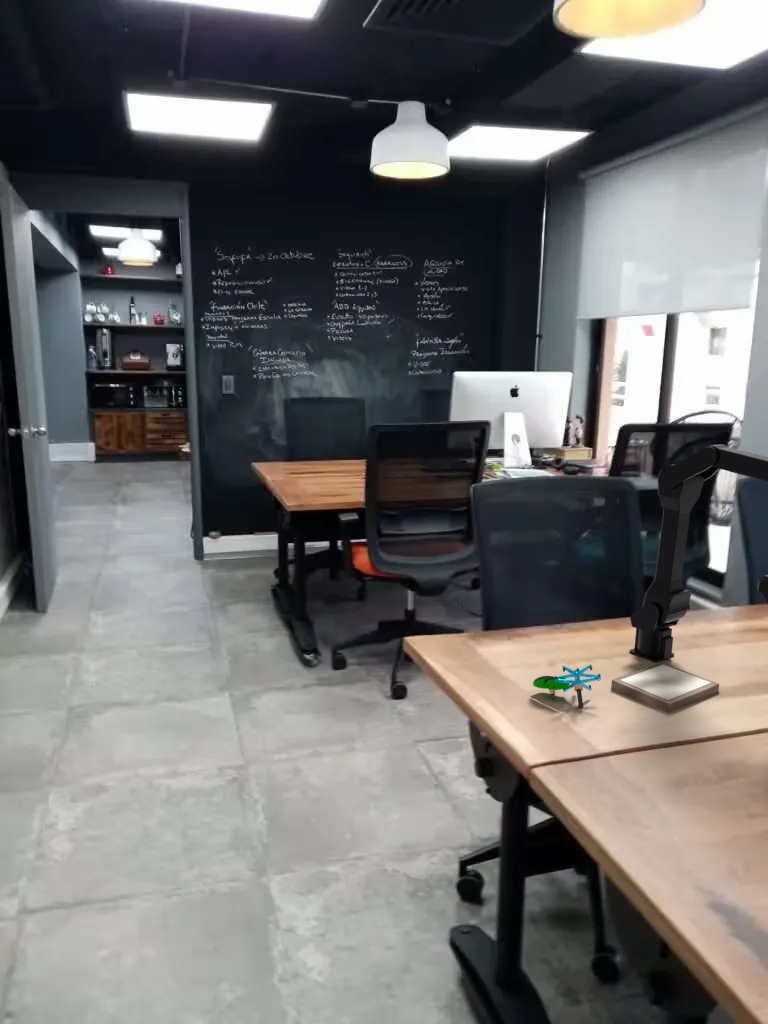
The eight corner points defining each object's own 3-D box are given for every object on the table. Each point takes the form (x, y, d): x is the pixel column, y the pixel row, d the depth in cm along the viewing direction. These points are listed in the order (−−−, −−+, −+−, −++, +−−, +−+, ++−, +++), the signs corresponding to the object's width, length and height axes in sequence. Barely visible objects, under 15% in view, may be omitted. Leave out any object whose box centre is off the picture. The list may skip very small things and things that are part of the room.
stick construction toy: (604, 675, 135) (593, 656, 130) (610, 712, 131) (599, 694, 125) (539, 686, 140) (525, 669, 134) (543, 723, 135) (529, 706, 130)
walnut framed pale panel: (611, 688, 139) (611, 679, 138) (660, 669, 147) (661, 661, 147) (668, 713, 129) (669, 703, 129) (718, 692, 138) (719, 683, 137)
